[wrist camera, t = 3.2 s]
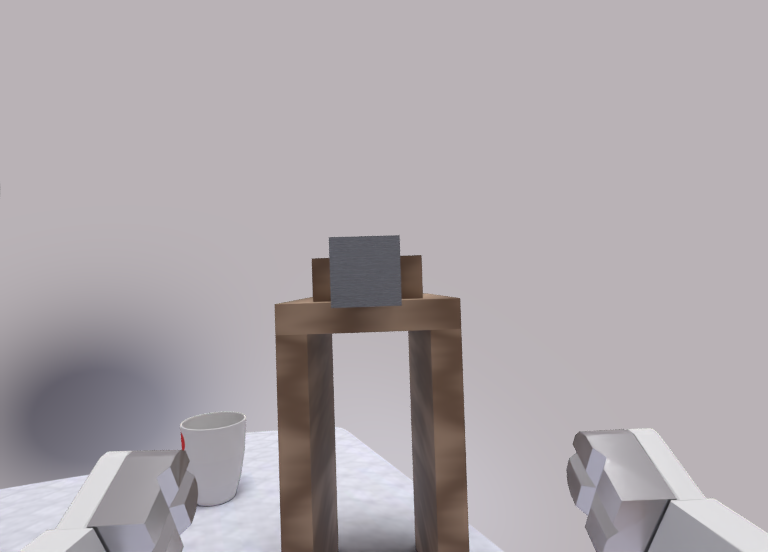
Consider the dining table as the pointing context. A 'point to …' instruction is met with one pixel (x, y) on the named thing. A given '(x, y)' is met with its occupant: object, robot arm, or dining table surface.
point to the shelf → (317, 424)
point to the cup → (215, 454)
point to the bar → (365, 271)
